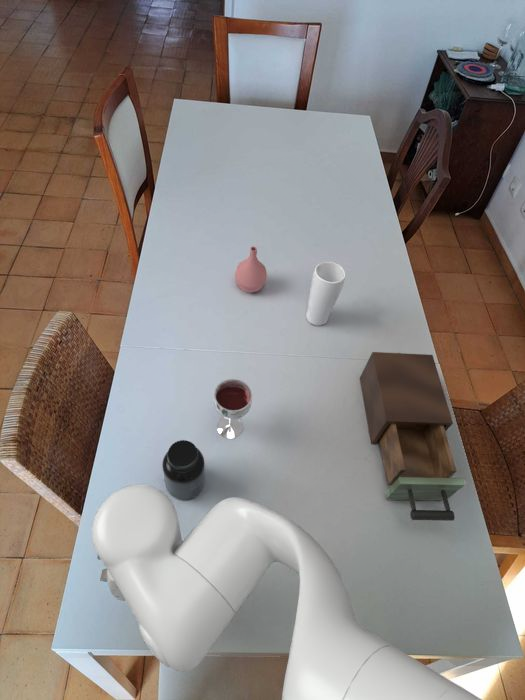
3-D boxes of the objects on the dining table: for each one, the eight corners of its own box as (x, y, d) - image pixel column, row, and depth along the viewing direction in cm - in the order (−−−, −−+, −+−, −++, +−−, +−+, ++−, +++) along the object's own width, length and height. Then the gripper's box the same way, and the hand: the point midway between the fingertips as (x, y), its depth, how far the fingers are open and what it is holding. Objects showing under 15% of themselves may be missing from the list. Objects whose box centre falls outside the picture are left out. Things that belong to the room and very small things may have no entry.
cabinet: (432, 446, 91) (453, 423, 83) (371, 444, 89) (386, 421, 82) (415, 380, 100) (432, 354, 92) (359, 378, 99) (372, 351, 91)
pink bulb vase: (241, 301, 109) (244, 263, 99) (229, 279, 113) (231, 241, 103) (270, 293, 111) (276, 256, 102) (257, 272, 115) (262, 235, 106)
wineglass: (205, 429, 88) (205, 397, 78) (226, 405, 91) (229, 372, 82) (233, 449, 86) (237, 419, 76) (254, 423, 90) (260, 391, 80)
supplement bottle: (202, 461, 84) (202, 431, 74) (206, 498, 80) (206, 471, 70) (165, 466, 83) (159, 436, 73) (166, 503, 79) (161, 477, 69)
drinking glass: (301, 326, 106) (313, 279, 94) (304, 305, 110) (316, 258, 98) (329, 331, 106) (345, 285, 94) (331, 310, 110) (347, 264, 98)
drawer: (453, 528, 80) (474, 515, 74) (390, 528, 79) (406, 514, 73) (427, 428, 92) (443, 409, 86) (372, 427, 91) (384, 407, 85)
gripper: (58, 591, 46) (95, 617, 61) (224, 597, 47) (221, 621, 62) (78, 517, 51) (108, 557, 65) (229, 523, 52) (225, 562, 66)
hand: (163, 588), depth 63 cm, fingers closed on block, 4 cm apart
